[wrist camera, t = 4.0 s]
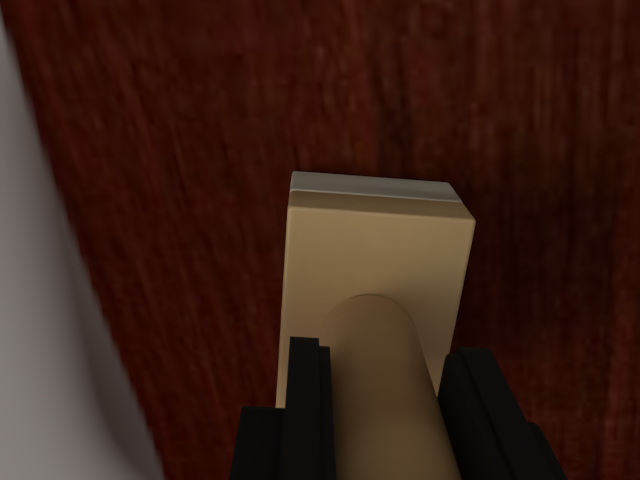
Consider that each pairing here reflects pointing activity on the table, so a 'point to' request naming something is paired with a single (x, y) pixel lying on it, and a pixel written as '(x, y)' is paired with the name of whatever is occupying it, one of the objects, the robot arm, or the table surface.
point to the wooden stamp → (377, 313)
